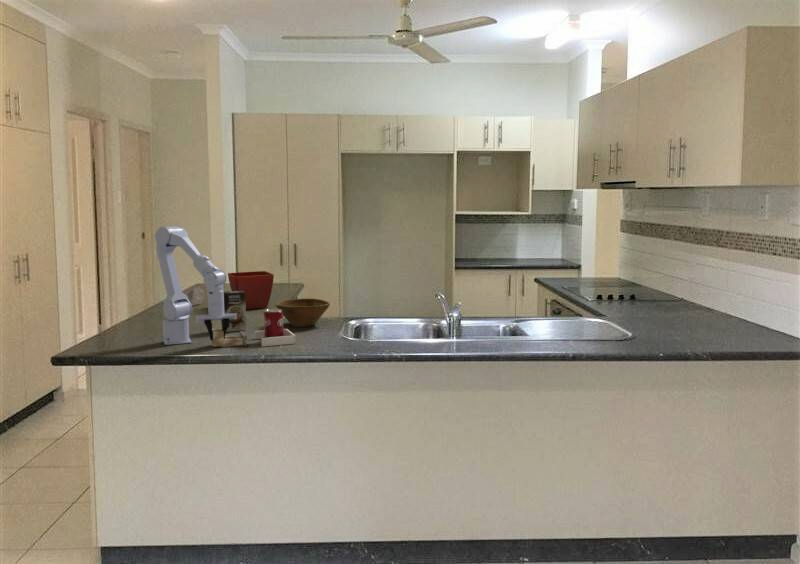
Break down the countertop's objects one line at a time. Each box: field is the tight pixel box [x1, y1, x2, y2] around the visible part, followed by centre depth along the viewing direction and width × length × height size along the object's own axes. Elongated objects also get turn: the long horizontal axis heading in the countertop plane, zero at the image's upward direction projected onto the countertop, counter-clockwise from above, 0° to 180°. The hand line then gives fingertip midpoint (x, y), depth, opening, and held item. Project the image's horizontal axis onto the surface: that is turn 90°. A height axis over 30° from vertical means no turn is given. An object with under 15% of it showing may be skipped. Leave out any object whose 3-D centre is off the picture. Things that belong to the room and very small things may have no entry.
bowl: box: [274, 297, 331, 328], centre depth 292 cm, size 22×23×10 cm
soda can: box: [263, 308, 285, 338], centre depth 261 cm, size 7×7×12 cm
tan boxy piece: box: [210, 328, 248, 348], centre depth 255 cm, size 12×9×6 cm
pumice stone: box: [186, 285, 205, 307], centre depth 347 cm, size 15×8×10 cm, turn 167°
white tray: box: [254, 328, 297, 347], centre depth 261 cm, size 13×15×3 cm
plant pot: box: [227, 270, 275, 310], centre depth 339 cm, size 19×19×17 cm
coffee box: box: [224, 290, 247, 333], centre depth 282 cm, size 9×6×16 cm
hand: (217, 339), depth 253 cm, fingers closed on tan boxy piece, 4 cm apart
